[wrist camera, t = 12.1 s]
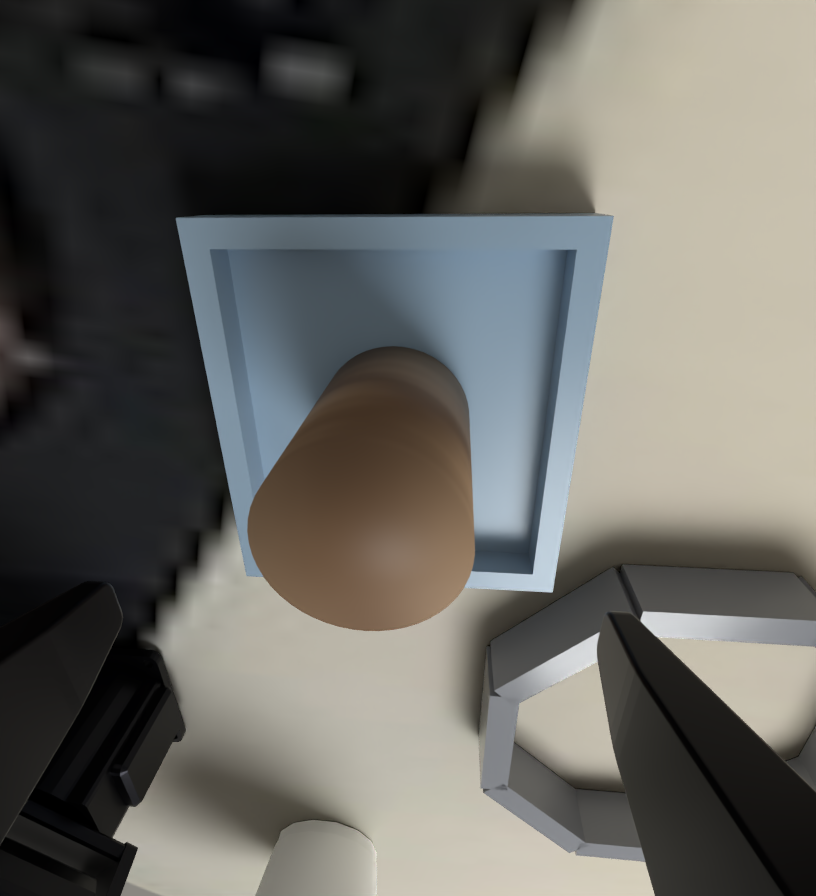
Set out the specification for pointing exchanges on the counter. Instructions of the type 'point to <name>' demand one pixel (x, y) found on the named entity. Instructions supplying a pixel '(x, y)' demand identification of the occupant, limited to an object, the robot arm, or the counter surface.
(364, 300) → the tray
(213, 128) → the counter surface
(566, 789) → the holder ring
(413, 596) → the walnut cylinder
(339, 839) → the foam cup
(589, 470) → the counter surface
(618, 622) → the robot arm
